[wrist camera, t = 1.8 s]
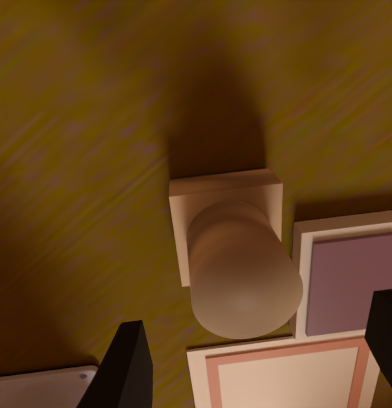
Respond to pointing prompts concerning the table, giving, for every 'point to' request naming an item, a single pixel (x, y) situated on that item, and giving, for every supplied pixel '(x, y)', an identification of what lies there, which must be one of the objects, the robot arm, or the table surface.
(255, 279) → the stamp
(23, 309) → the table surface
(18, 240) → the table surface
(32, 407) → the robot arm
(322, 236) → the ink pad
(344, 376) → the marked sheet
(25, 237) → the table surface
